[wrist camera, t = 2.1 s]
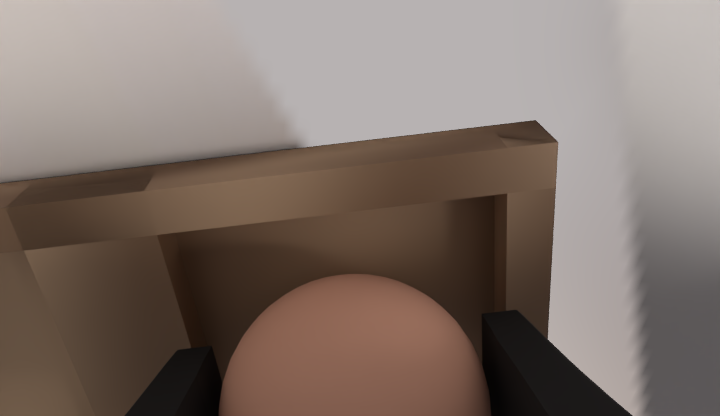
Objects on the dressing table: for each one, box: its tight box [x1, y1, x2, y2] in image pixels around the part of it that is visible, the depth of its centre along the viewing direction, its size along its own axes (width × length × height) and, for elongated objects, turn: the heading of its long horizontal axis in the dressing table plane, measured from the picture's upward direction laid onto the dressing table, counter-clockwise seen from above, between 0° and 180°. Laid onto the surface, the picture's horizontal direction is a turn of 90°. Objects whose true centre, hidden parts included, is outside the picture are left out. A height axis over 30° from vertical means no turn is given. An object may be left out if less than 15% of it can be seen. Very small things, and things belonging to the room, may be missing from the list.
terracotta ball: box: [219, 274, 491, 416], centre depth 10 cm, size 4×4×4 cm
